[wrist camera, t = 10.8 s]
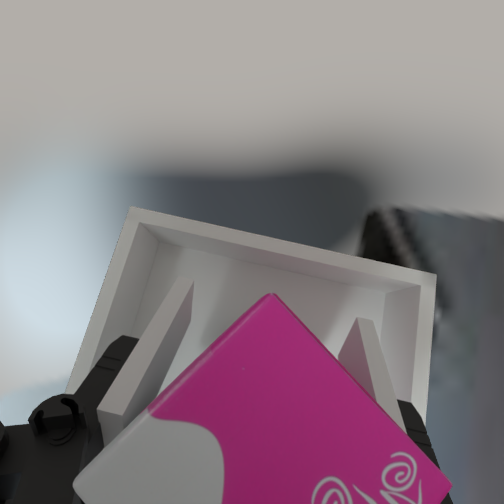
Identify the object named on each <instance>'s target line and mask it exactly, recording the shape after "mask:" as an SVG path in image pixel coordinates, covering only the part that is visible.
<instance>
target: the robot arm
mask: <svg viewBox="0 0 504 504" xmlns="http://www.w3.org/2000/svg"><path fill="white" fill-rule="evenodd" d="M193 291H194V279H190V278H186V277H181V276H179V277H178V278H177V280H176V281H175V283H174V285H173V286H172V288H171V290H170V291H169V293H168V294H167V296H166V298H165V299H164V301H163V302H162V304H161V306H160V307H159V309H158V311H157V312H156V314H155V315H154V317H153V319H152V320H151V322H150V323H149V325H148V327H147V328H146V330H145V332H144V333H143V335H142V336H141V338H140V339H138V338H134V337H130V336H125V335H122V336H120V337H119V338H117V339H116V340H115V341H113V342H112V343H111V344H110V345H109V346H108V348H107V349H106V350H105V352H104V353H103V354H102V357H101V358H100V359H99V360H98V361H97V363H96V364H95V367H93V368H92V370H91V371H90V373H89V374H88V375H87V377H86V378H85V379H84V381H83V382H82V384H81V385H80V386H79V388H78V389H77V391H76V392H75V393H74V395H73V394H60V395H56V396H52V397H51V398H49V399H47V400H45V401H43V402H42V403H41V404H40V405H39V406H38V407H37V408H36V409H34V410H33V412H32V414H31V416H30V417H29V419H28V421H29V424H24V425H14V426H4V425H3V424H2V423H1V421H0V504H85V503H84V502H83V501H82V499H81V498H80V497H79V496H78V495H77V494H76V492H75V490H74V488H73V482H74V480H75V478H76V477H77V476H78V475H79V473H80V472H81V471H82V470H83V469H84V468H85V467H86V466H87V465H88V464H89V463H90V462H91V461H92V460H93V459H94V458H95V457H96V456H97V455H98V454H99V453H100V452H101V451H102V450H103V449H104V448H105V447H106V446H108V445H109V444H110V443H111V442H112V441H113V440H114V439H115V438H116V437H117V436H118V435H119V434H120V433H121V432H122V431H123V430H124V429H125V428H126V427H127V426H128V425H129V424H130V423H131V422H132V421H133V420H134V419H135V418H136V417H137V416H138V415H139V414H140V413H141V412H142V411H143V410H144V409H145V408H146V407H147V406H148V405H149V404H150V403H151V402H152V401H153V400H154V399H155V398H156V397H157V395H158V393H159V390H160V388H161V386H162V384H163V381H164V379H165V377H166V375H167V373H168V370H169V368H170V366H171V364H172V362H173V359H174V357H175V355H176V353H177V351H178V348H179V346H180V344H181V342H182V340H183V337H184V335H185V333H186V331H187V329H188V326H189V324H190V322H191V313H192V302H193ZM338 361H339V362H340V363H341V364H342V365H343V366H344V367H345V368H346V370H347V371H348V372H349V373H350V374H351V375H352V376H353V377H354V378H355V379H356V380H357V381H358V382H359V384H360V385H361V386H362V387H363V388H364V389H365V390H366V391H367V392H368V393H369V394H370V395H371V396H372V397H373V399H374V400H375V401H376V402H377V403H378V404H379V405H380V406H381V407H382V408H383V409H384V410H385V412H386V413H387V414H388V415H389V416H390V417H391V418H392V419H393V420H394V421H395V422H396V423H397V424H398V426H399V427H400V428H401V429H402V430H403V431H404V432H405V433H406V434H407V435H408V436H409V437H410V438H411V439H412V441H413V442H414V443H415V444H416V445H417V446H418V447H419V448H420V449H421V450H422V451H423V452H424V453H425V454H426V456H427V457H428V458H429V459H430V460H431V461H432V462H433V463H434V464H435V465H436V466H437V467H438V468H439V469H440V467H439V465H438V462H437V459H436V456H435V453H434V451H433V449H432V448H431V446H432V445H431V442H430V439H429V437H428V435H427V431H426V428H425V425H424V423H423V420H422V417H421V416H420V414H419V413H418V411H417V410H416V409H415V407H414V406H413V404H412V403H411V402H407V401H402V400H398V399H396V395H395V392H394V389H393V385H392V382H391V379H390V375H389V372H388V369H387V365H386V362H385V359H384V355H383V352H382V349H381V345H380V342H379V339H378V335H377V332H376V329H375V325H374V322H373V320H369V319H365V318H360V317H356V319H355V321H354V323H353V325H352V327H351V330H350V332H349V334H348V336H347V338H346V340H345V342H344V344H343V346H342V348H341V350H340V352H339V354H338ZM440 504H453V502H452V500H451V498H450V495H449V493H447V495H446V496H445V498H444V499H443V500H442V502H441V503H440Z"/></svg>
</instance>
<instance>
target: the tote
mask: <svg viewBox="0 0 504 504" xmlns="http://www.w3.org/2000/svg"><path fill="white" fill-rule="evenodd" d="M179 276H181V277H186V278H190V279H194V291H193V302H192V313H191V322H190V324H189V326H188V329H187V331H186V333H185V335H184V337H183V340H182V342H181V344H180V346H179V348H178V351H177V353H176V355H175V357H174V359H173V362H172V364H171V366H170V368H169V370H168V373H167V375H166V377H165V379H164V381H163V384H162V386H161V388H160V390H159V393H158V395H159V394H160V393H161V392H162V391H163V390H164V389H165V388H166V387H167V386H168V385H169V384H171V383H172V382H173V381H174V380H175V379H176V378H177V377H178V376H179V375H180V374H181V373H182V372H183V371H184V370H185V369H186V368H187V367H188V366H189V365H190V364H191V363H192V362H193V361H194V360H195V359H196V358H197V357H198V356H199V355H200V354H201V353H202V352H203V351H204V350H206V349H207V348H208V347H209V346H210V345H211V344H212V343H213V342H214V341H215V340H216V339H217V338H218V337H219V336H220V335H221V334H222V333H223V332H224V331H225V330H226V329H228V328H229V327H230V326H231V325H232V324H233V323H234V322H235V321H236V320H237V319H238V318H239V317H240V316H241V315H242V314H243V313H245V312H246V311H247V310H248V309H249V308H250V307H251V306H252V305H253V304H255V303H256V302H257V301H258V300H259V299H260V298H261V297H263V296H264V295H266V294H268V293H272V292H273V293H275V294H277V295H278V296H279V298H280V299H281V300H282V301H283V302H284V303H285V304H286V305H287V306H288V307H289V308H290V309H291V310H292V311H293V312H294V314H295V315H296V316H297V317H298V318H299V319H300V320H301V321H302V322H303V323H304V324H305V325H306V326H307V328H308V329H309V330H310V331H311V332H312V333H313V334H314V335H315V336H316V337H317V338H318V339H319V340H320V341H321V343H322V344H323V345H324V346H325V347H326V348H327V349H328V350H329V351H330V352H331V353H332V354H333V355H334V356H335V358H336V359H337V360H338V354H339V352H340V350H341V348H342V346H343V344H344V342H345V340H346V338H347V336H348V334H349V332H350V330H351V327H352V325H353V323H354V321H355V319H356V317H360V318H365V319H369V320H373V322H374V325H375V329H376V332H377V335H378V339H379V342H380V345H381V349H382V352H383V355H384V359H385V362H386V365H387V369H388V372H389V375H390V379H391V382H392V385H393V389H394V392H395V395H396V399H398V400H402V401H407V402H411V403H412V404H413V406H414V407H415V409H416V410H417V411H418V413H419V414H420V416H421V417H422V420H423V423H424V425H425V422H426V409H427V396H428V383H429V369H430V356H431V343H432V330H433V317H434V304H435V290H436V277H437V274H432V273H428V272H423V271H419V270H414V269H410V268H405V267H401V266H397V265H392V264H388V263H383V262H379V261H374V260H370V259H365V258H361V257H356V256H352V255H347V254H343V253H338V252H334V251H329V250H325V249H321V248H316V247H312V246H307V245H303V244H298V243H294V242H289V241H285V240H280V239H276V238H271V237H267V236H263V235H258V234H254V233H249V232H245V231H240V230H236V229H231V228H227V227H223V226H218V225H214V224H209V223H205V222H200V221H196V220H191V219H187V218H182V217H178V216H173V215H168V214H165V213H160V212H156V211H151V210H147V209H142V208H138V207H133V206H130V208H129V211H128V214H127V216H126V219H125V222H124V225H123V228H122V231H121V233H120V236H119V239H118V242H117V245H116V248H115V251H114V254H113V256H112V259H111V262H110V265H109V268H108V271H107V274H106V276H105V279H104V282H103V285H102V288H101V291H100V293H99V296H98V299H97V302H96V305H95V308H94V311H93V313H92V316H91V320H90V322H89V325H88V328H87V331H86V333H85V336H84V339H83V342H82V345H81V348H80V351H79V354H78V356H77V359H76V362H75V365H74V368H73V371H72V374H71V376H70V379H69V382H68V385H67V388H66V391H65V394H73V395H74V393H75V392H76V391H77V389H78V388H79V386H80V385H81V384H82V382H83V381H84V379H85V378H86V377H87V375H88V374H89V373H90V371H91V370H92V368H93V367H95V364H96V363H97V361H98V360H99V359H100V358H101V357H102V354H103V353H104V352H105V350H106V349H107V348H108V346H109V345H110V344H111V343H112V342H113V341H115V340H116V339H117V338H119V337H120V336H122V335H125V336H130V337H134V338H138V339H140V338H141V336H142V335H143V333H144V332H145V330H146V328H147V327H148V325H149V323H150V322H151V320H152V319H153V317H154V315H155V314H156V312H157V311H158V309H159V307H160V306H161V304H162V302H163V301H164V299H165V298H166V296H167V294H168V293H169V291H170V290H171V288H172V286H173V285H174V283H175V281H176V280H177V278H178V277H179ZM158 395H157V396H158Z"/></svg>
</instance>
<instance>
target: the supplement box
mask: <svg viewBox="0 0 504 504" xmlns="http://www.w3.org/2000/svg"><path fill="white" fill-rule="evenodd" d="M452 485H453V484H452V483H451V481H450V480H449V479H448V478H447V477H446V476H445V475H444V474H443V473H442V471H441V470H440V469H439V468H438V467H437V466H436V465H435V464H434V463H433V462H432V461H431V460H430V459H429V458H428V457H427V456H426V454H425V453H424V452H423V451H422V450H421V449H420V448H419V447H418V446H417V445H416V444H415V443H414V442H413V441H412V439H411V438H410V437H409V436H408V435H407V434H406V433H405V432H404V431H403V430H402V429H401V428H400V427H399V426H398V424H397V423H396V422H395V421H394V420H393V419H392V418H391V417H390V416H389V415H388V414H387V413H386V412H385V410H384V409H383V408H382V407H381V406H380V405H379V404H378V403H377V402H376V401H375V400H374V399H373V397H372V396H371V395H370V394H369V393H368V392H367V391H366V390H365V389H364V388H363V387H362V386H361V385H360V384H359V382H358V381H357V380H356V379H355V378H354V377H353V376H352V375H351V374H350V373H349V372H348V371H347V370H346V368H345V367H344V366H343V365H342V364H341V363H340V362H339V361H338V360H337V359H336V358H335V356H334V355H333V354H332V353H331V352H330V351H329V350H328V349H327V348H326V347H325V346H324V345H323V344H322V343H321V341H320V340H319V339H318V338H317V337H316V336H315V335H314V334H313V333H312V332H311V331H310V330H309V329H308V328H307V326H306V325H305V324H304V323H303V322H302V321H301V320H300V319H299V318H298V317H297V316H296V315H295V314H294V312H293V311H292V310H291V309H290V308H289V307H288V306H287V305H286V304H285V303H284V302H283V301H282V300H281V299H280V298H279V296H278V295H277V294H275V293H273V292H272V293H268V294H266V295H264V296H263V297H261V298H260V299H259V300H258V301H257V302H256V303H255V304H253V305H252V306H251V307H250V308H249V309H248V310H247V311H246V312H245V313H243V314H242V315H241V316H240V317H239V318H238V319H237V320H236V321H235V322H234V323H233V324H232V325H231V326H230V327H229V328H228V329H226V330H225V331H224V332H223V333H222V334H221V335H220V336H219V337H218V338H217V339H216V340H215V341H214V342H213V343H212V344H211V345H210V346H209V347H208V348H207V349H206V350H204V351H203V352H202V353H201V354H200V355H199V356H198V357H197V358H196V359H195V360H194V361H193V362H192V363H191V364H190V365H189V366H188V367H187V368H186V369H185V370H184V371H183V372H182V373H181V374H180V375H179V376H178V377H177V378H176V379H175V380H174V381H173V382H172V383H171V384H169V385H168V386H167V387H166V388H165V389H164V390H163V391H162V392H161V393H160V394H159V395H158V396H157V397H156V398H155V399H154V400H153V401H152V402H151V403H150V404H149V405H148V406H147V407H146V408H145V409H144V410H143V411H142V412H141V413H140V414H139V415H138V416H137V417H136V418H135V419H134V420H133V421H132V422H131V423H130V424H129V425H128V426H127V427H126V428H125V429H124V430H123V431H122V432H121V433H120V434H119V435H118V436H117V437H116V438H115V439H114V440H113V441H112V442H111V443H110V444H109V445H108V446H106V447H105V448H104V449H103V450H102V451H101V452H100V453H99V454H98V455H97V456H96V457H95V458H94V459H93V460H92V461H91V462H90V463H89V464H88V465H87V466H86V467H85V468H84V469H83V470H82V471H81V472H80V473H79V475H78V476H77V477H76V478H75V480H74V482H73V488H74V490H75V492H76V494H77V495H78V496H79V497H80V498H81V499H82V501H83V502H84V503H85V504H440V503H441V502H442V500H443V499H444V498H445V496H446V495H447V493H448V492H449V490H450V489H451V487H452Z"/></svg>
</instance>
